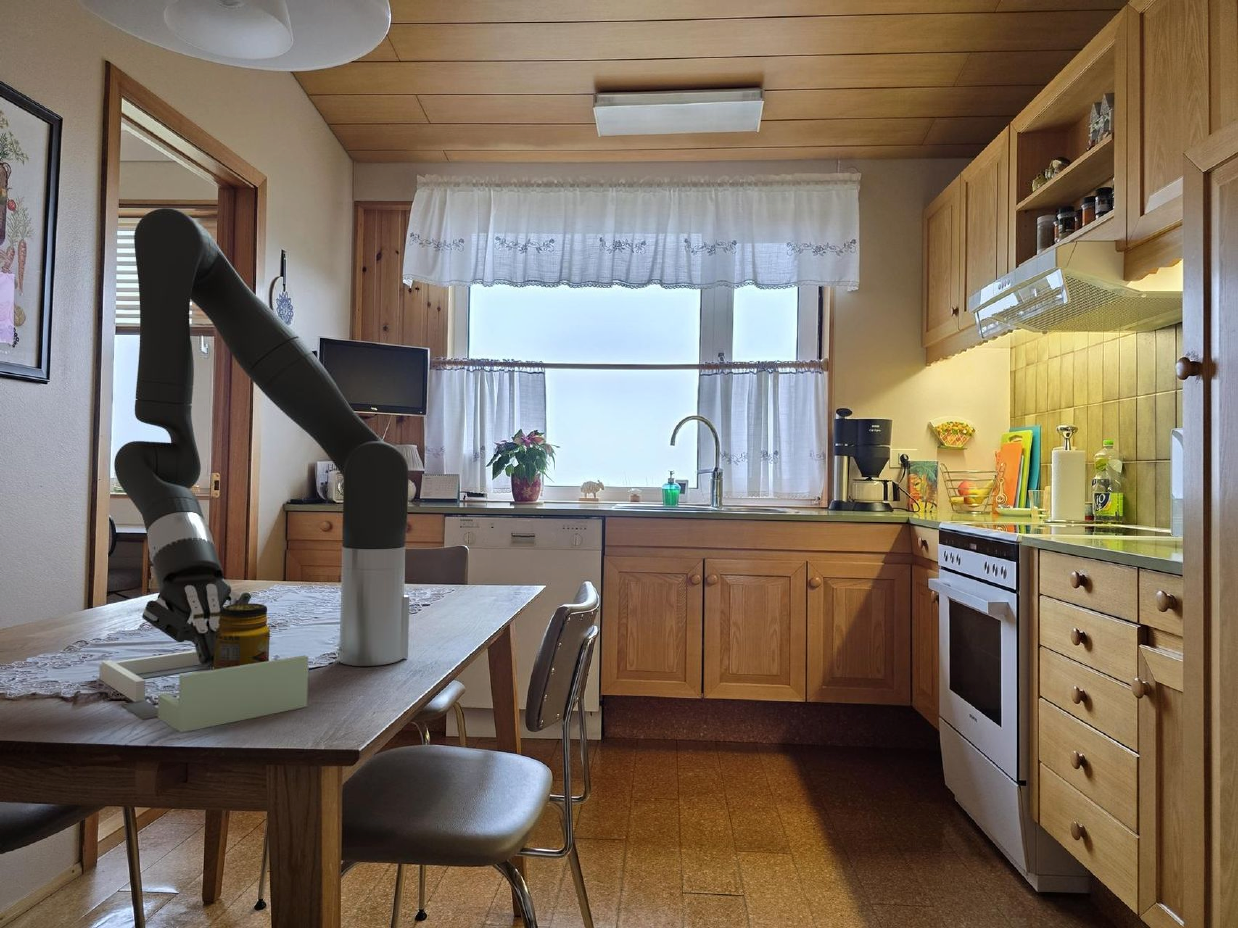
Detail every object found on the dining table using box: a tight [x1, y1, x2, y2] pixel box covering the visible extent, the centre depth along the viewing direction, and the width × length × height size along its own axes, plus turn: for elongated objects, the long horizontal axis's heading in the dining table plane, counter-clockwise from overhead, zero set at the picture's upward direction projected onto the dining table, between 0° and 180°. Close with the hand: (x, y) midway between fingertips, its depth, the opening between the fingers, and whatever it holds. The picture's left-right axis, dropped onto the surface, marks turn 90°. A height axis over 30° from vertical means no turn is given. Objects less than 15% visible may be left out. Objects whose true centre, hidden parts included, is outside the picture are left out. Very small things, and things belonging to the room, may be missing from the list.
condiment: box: [213, 603, 271, 670], centre depth 94 cm, size 7×8×12 cm
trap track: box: [98, 650, 309, 733], centre depth 99 cm, size 16×31×6 cm, turn 47°
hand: (215, 663), depth 95 cm, fingers closed
